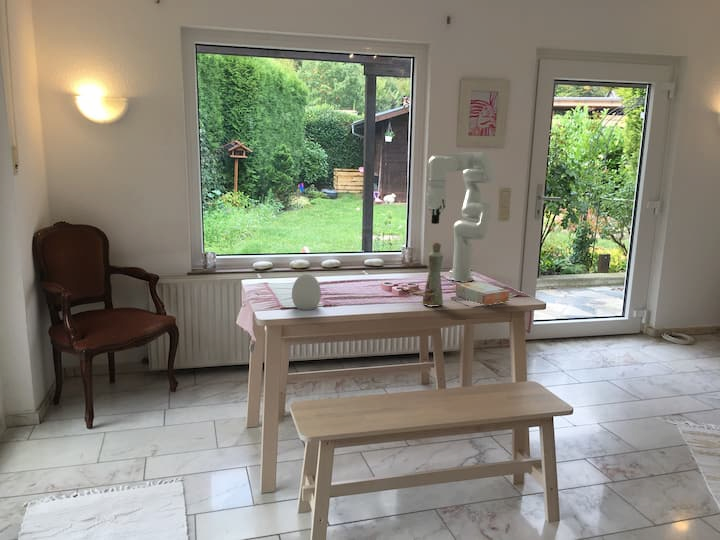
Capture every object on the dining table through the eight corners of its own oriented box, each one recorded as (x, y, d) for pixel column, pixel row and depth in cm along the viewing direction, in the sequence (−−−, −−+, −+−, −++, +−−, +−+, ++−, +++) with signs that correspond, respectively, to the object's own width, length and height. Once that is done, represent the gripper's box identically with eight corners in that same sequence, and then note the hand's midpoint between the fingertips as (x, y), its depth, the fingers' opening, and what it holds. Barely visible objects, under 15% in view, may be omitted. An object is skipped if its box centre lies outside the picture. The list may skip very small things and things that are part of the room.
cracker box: (455, 296, 278) (485, 306, 260) (455, 283, 277) (486, 293, 259) (478, 292, 285) (509, 302, 267) (478, 280, 283) (510, 289, 266)
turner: (399, 290, 287) (399, 288, 286) (405, 289, 290) (405, 286, 290) (426, 297, 276) (426, 295, 276) (432, 295, 280) (432, 293, 280)
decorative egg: (321, 303, 259) (321, 270, 256) (320, 311, 248) (321, 276, 244) (292, 303, 259) (293, 269, 256) (290, 311, 247) (291, 275, 244)
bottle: (442, 308, 258) (446, 244, 252) (421, 306, 260) (424, 243, 254) (443, 303, 266) (447, 241, 260) (423, 301, 268) (426, 240, 262)
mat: (450, 298, 275) (450, 297, 274) (481, 295, 283) (481, 293, 283) (472, 307, 261) (472, 305, 261) (503, 303, 269) (504, 302, 269)
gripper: (421, 182, 280) (419, 221, 284) (440, 185, 267) (437, 226, 271) (434, 182, 284) (432, 221, 287) (453, 185, 271) (451, 225, 275)
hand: (435, 223), depth 279 cm, fingers closed
